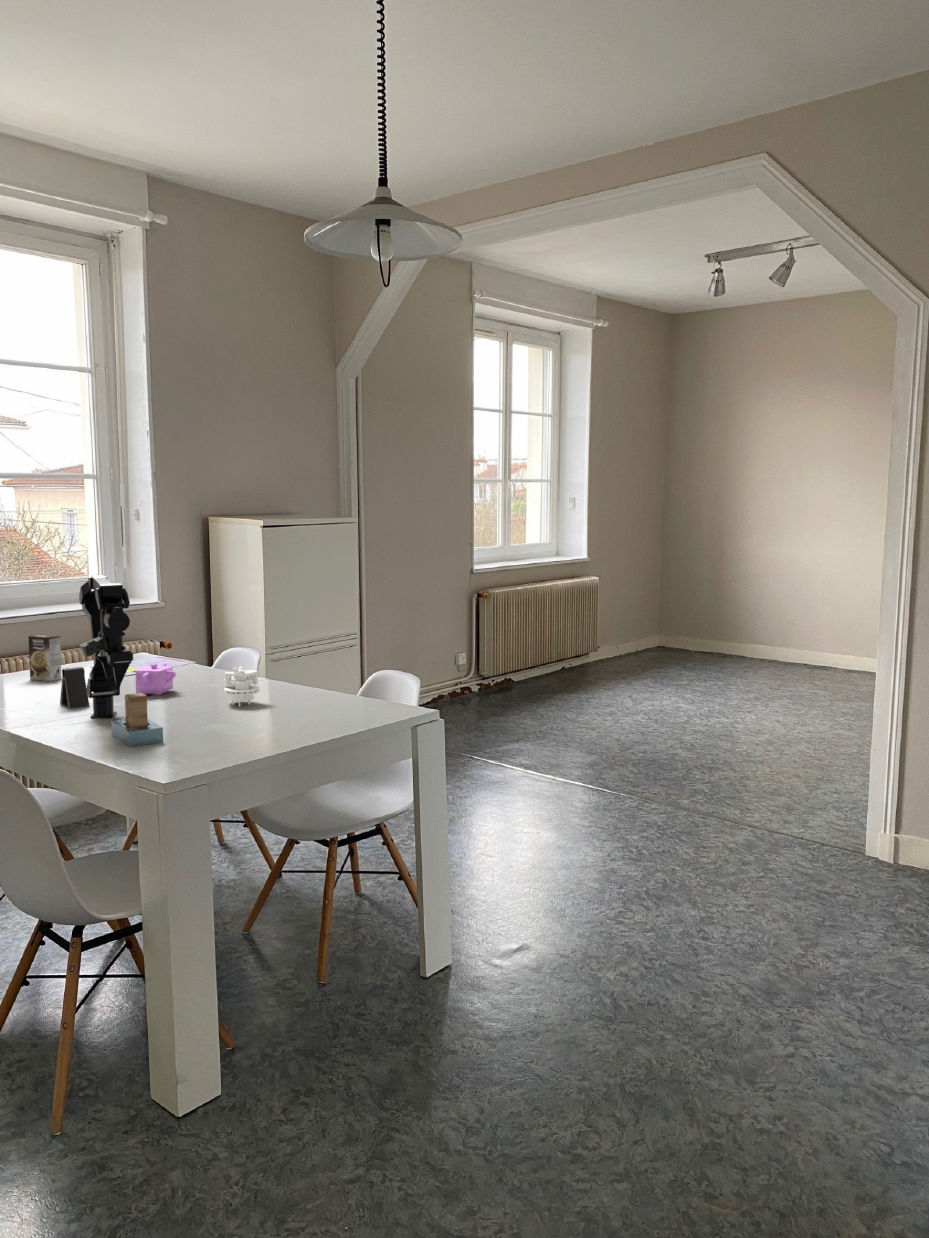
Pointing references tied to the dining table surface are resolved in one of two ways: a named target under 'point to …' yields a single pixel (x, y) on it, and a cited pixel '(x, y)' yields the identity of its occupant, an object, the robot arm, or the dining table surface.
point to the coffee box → (45, 657)
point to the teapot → (154, 679)
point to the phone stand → (73, 688)
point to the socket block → (137, 733)
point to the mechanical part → (241, 684)
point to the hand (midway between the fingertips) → (113, 682)
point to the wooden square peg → (136, 710)
